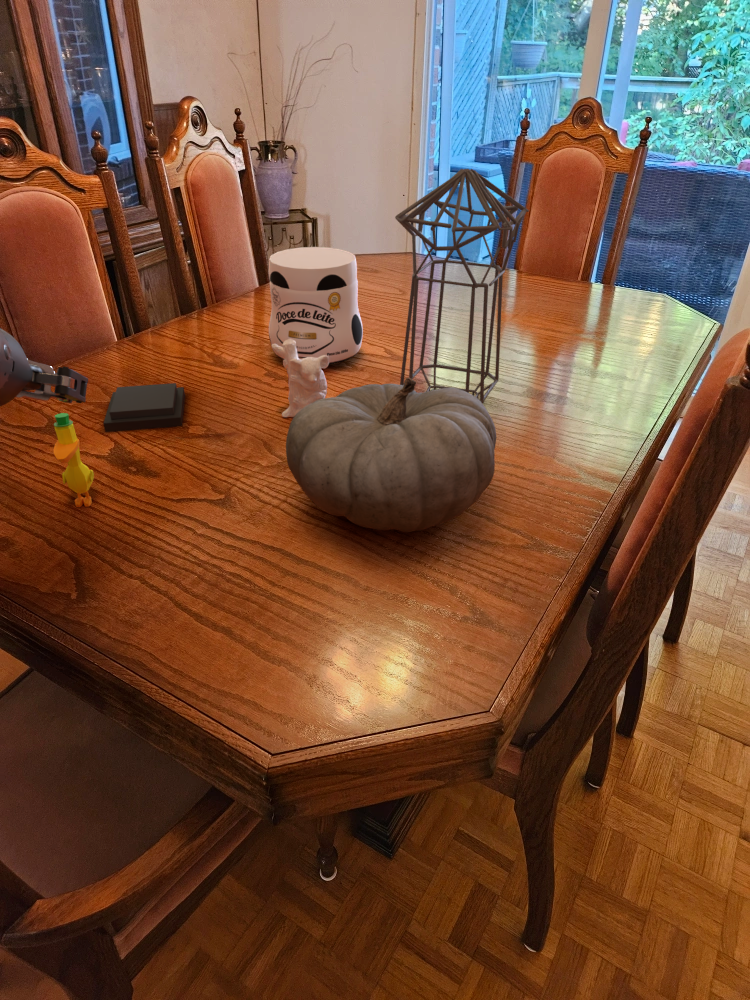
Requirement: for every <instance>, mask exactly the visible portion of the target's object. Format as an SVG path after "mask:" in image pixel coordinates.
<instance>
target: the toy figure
mask: <svg viewBox="0 0 750 1000" xmlns="http://www.w3.org/2000/svg"><path fill="white" fill-rule="evenodd" d="M54 419H55V421H56V422H54V423H53V426H54V431H55V434H56V435H55V436H56V438H57V441H56V442H55V444H54V446H53V455H54V457H55V459H56V460H57V461H58V462H59V463H61V464H67V466H66V468H65V470H64V471H63V472H62V473H61V476H62V477H61V478H62V484H63V485H67V486H68V488H69V489H70V490H71V491H73V492H75V494H76V496H77V498H75V499H74V505H75V508H81V507H82V506H83V505H84V508H86V507H87V508H88V507H90V506H92V503H93V502H92V501H93V500H92V496H91V495H90V493H89V490H90V488H91V486H92V484H93V481H94V479H95V473H94V469H90V468H89V467H88V465H86V464H84V463H83V461H82V460H81V453H80V451H81V450H80V445H81V443H80V442H81V441H80V439H79V438H78V437H77V433H76V429H75V426H74V424H73V423H74V421H73V420H72V419H70V414H69V413H68V412H61V413H57V414H55V415H54ZM81 494H84V495H85V497H83V496H82V495H81Z"/></svg>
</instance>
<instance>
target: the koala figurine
mask: <svg viewBox="0 0 750 1000" xmlns="http://www.w3.org/2000/svg"><path fill="white" fill-rule="evenodd" d="M282 345H283V347H281V346H278V345H277V344H272V346H271V349H272V348H273V349H274V350H275V351H276V352H277V353H279V354H280V355H282V356H284V360H283V359H282V364H283V365H282V366H283V367H284V368H285V369H286V372H287V376H288V390H289V391H288V398H287V399H288V403H289V406H288V407H287V408H286V409H285V410H284V411H282V413H281V417H282V418H294V417H295V415H296V414H297V413H298V412H299V411H300V410H301V409H303V408H304V407H305V406H307V405H309V404H311V403H313V402H315V401H316V400H319V399H324V398H327V397H326V396H327V394H328V382H327V378H326V376H325V373H324V371H323V370H322V369H324V370H325V369H327V368H328V367H329V366H330V365H329V357H328V356H327V355H323V356H320V357H318V358H313V357H307V358H303V359H299V358H298V354H297V350H296V342H295V340H293V339H288V340H286V341H284V343H283V344H282ZM273 349H272V350H273Z"/></svg>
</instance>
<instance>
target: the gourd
mask: <svg viewBox="0 0 750 1000" xmlns="http://www.w3.org/2000/svg"><path fill="white" fill-rule="evenodd" d="M404 383H405V384H404V385H400V384H398V383H383V384H380V383H379V384H378V383H371V384H364V385H362V386H356V387H352V388H349V389H346V390H344V391H342V392H341V393H339V394H338V395H336V396H332V397H325V398H324V399H319V400H316V401H315V402H313V403H311V404H309V405H307V406H305V407H304V408H303V409H301V410H300V411H299V412H298V413H297V414H296V415H295V417H292V420H291V421H290V424H289V426H288V430H287V432H286V433H287V434H286V440H285V456H286V462H287V466H288V468H289V470H290V472H291V474H292V476H293V478H294V479H295V481H296V483H297V484H298V485H299V487H300V488H301V490H302V491H303V492H304V493H305V496H307V497H308V498H309V500H311V502H312V503H314V505H315V506H316V507H318V508H319V509H320V510H322V511H323V512H325V513H327V514H329V515H332V516H335V517H345V518H346V519H347V520H348V521H349V522H351V523H352V524H354V525H357V526H359V527H362V528H364V529H365V528H366V529H373V530H375V531H376V530H377V531H389V530H396V531H398V532H401V533H411V532H421V531H424V530H427V529H429V528H432V527H435V526H439V525H442V524H444V523H447V522H450V521H451V520H454V519H455V518H457V517H459V516H461V515H462V514H463V513H464V512H465V511H466V510H468V509H469V508H470V507H471V506H473V505H474V504H475V503H476V502H478V500H479V499H480V497H481V496H482V494H483V493H484V492H485V491H486V489H487V488H488V486H489V485H490V484H491V482H492V481H493V478H494V476H495V467H496V462H495V461H496V460H495V449H496V445H497V429H496V426H495V423H494V420H493V419H492V416H491V415H490V413H489V411H488V410H487V408H486V406H485V405H484V403H481V401H480V398H479V397H478V398H476V397H475V396H476V395H474V396H473V395H472V393H470V392H469V393H467V392H465V391H463V390H459V389H456V388H457V387H452V388H442V389H441V388H437V389H436V390H434V389H432V390H431V389H430V391H427V390H426V391H427V392H426V391H424V392H417V391H416V390H415V387H416V385H417V381H416V380H414V379H413V380H412V379H411V378H409V377H405V379H404Z"/></svg>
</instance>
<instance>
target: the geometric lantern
mask: <svg viewBox="0 0 750 1000" xmlns="http://www.w3.org/2000/svg"><path fill="white" fill-rule="evenodd" d="M458 186H459V187H458ZM464 186H465V187H464ZM471 187H472V189H473V191H474V193H475V195H476V197H477V199H478V202H479V203H480V205H481V206H482V208H483V211H482V210H475V209H473V204H472V203H473V202H472V192H471ZM464 188H465V189H466V197H467V198H466V199H467V206H463V205H461V204H462V198H463V193H464ZM457 189H458V191H457V198H456V203H455V204H454V203H450V202H451V200H452V198H453V197H454V194H455V192H456V190H457ZM449 191H450V192H449ZM491 191H492V192H493V193H495V194H496V195H498V196H499V197H501V198H502V199H504V200H505V201H507V202H508V203H510V204H512V205H507V206H505V205H503V204H502V203H501V202H500V200H499V199H498V198H497V197H496V196H495V195H494V194H493V193H492V192H491ZM448 192H449V193H448ZM447 193H448V194H447ZM446 194H447V197H446V199H445V200H444V201H440V200H441V199H442V198H443V197H444V196H445V195H446ZM433 204H434V205H435V206H436V207H438V209H440V210H439V211H438V214H437V215H436V217H435V219H434V221H433V220H425V217H426V212H427V211H428V209H430V208H431V207H432V206H433ZM447 208H449V209H454V213H453V212H451V211H450V210H449V209H447ZM518 210H520V212H519V213H518V214H517V216H516V217H515V216H514V215H513V214H514V213H516V212H518ZM460 211H464V212H468V213H469V215H470V217H469V220H468V225H467V224H466V223H465V222H463V221H462V220H461V219H460V218H459V215H460ZM529 211H530V210H529V209H528V208H527V207H525V206H524V205H522V204H521V203H520V202H518V201H517V200H516V199H514V198H513V197H512V196H510V195H509V194H508V193H506V192H504V191H503V190H502V189H500V187H498V186H496V184H494V183H492V182H491V181H489V179H487V178H486V177H484V176H483V175H481V174H480V173H479V172H477V170H476V169H472V168H471V169H469V168H460V169H459V170H458V171H457V172H456V173H455V174H454V175H452V176H451V177H450V178H449V179H448V180H446V181H445V182H443V183H441V184H440V185H439V186H437V187H436V188H435V189H432V190H431V191H430V192H428V193H427V194H425V195H424V196H423V197H421V198H420V199H418V200H417V201H415V202H414V203H412V204H411V205H409V206H408V207H406V208H405V209H404V210H402V211H400V212H399V213H398V214H396V215H395V217H394V219H395V220H396V221H397V222H398V223H399V224H400V225H401V226H402V228H404V229H405V231H407V232H408V233H409V234H410V235H411V244H412V245H411V247H412V249H411V250H412V275H411V286H410V293H409V302H408V311H407V321H406V329H405V336H404V337H405V338H404V346H403V354H402V363H401V371H400V373H401V374H400V381H399V385H404V384H405V374H406V366H407V357H408V349H409V341H410V354H409V371H408V378H411V379H412V380H414V378H415V377H416V376H417V375H418V374H419V373H420V371H421V373H422V375H423V377H424V379H425V381H426V384H427V386H428V387H427V389H426V391H425V392H427V391H431V389H433V390H437V389H442V388H453V387H452V386H451V387H450V386H443V385H436V384H437V368H438V369H444V370H449V371H457V372H464V373H466V375H465V388H460V387H455V388H456V389H459V390H463V391H465V392H467V393H469V394H470V393H471V395H473V396H475V397H476V398H478V399H479V400H480V401H481V403H482V404H484V402H485V400H486V399H487V397H488V396H489V395H490V394H491V392H492V390H493V389H494V388H495V386H496V385H497V383H498V382H499V377H500V353H501V352H500V351H501V329H502V306H503V305H502V304H503V303H502V302H503V280H504V274H505V271H506V269H507V266H508V263H509V259H510V257H511V253H512V250H513V247H514V244H515V243H516V241H517V237H518V234H519V233H518V232H519V228H520V225H521V223H522V221H523V219H524V217H525V216H526V213H529ZM444 213H445V214H446V215H447V216H448V217H450V218H451V219H452V220H453V221H452V224H451V223H448V222H447V223H446V222H440V220H441V218H442V217H443V215H444ZM494 213H495V214H496V216H497V217H498V219H497V218H496V216H495V214H494ZM417 216H418V218H416V217H417ZM474 216H483V217H484V216H486V217H487V218H488V220H487V224H486V225H475V226H472V222H473V218H474ZM507 218H508V219H509V220H510V221H509V220H508V219H507ZM500 223H502V227H501V226H500ZM414 224H418V226H417V227H415V226H414ZM458 225H460V226H458ZM513 225H514V227H513ZM424 226H430V231H431V232H432V240H433V241H431V240H430V239H428V237H426V236H425V235H424V234H423V228H424ZM437 227H438V228H443V229H444V228H445V229H451V233H452V242H453V243H452V245H446V246H445V245H443V246H441V245H440V246H437V237H436V228H437ZM497 230H498V231H502V241H501V246H499V247H498V248H497V250H496V251H495V253H494V255H492V252H491V249H490V246H489V244H488V241H487V239H486V236H487V235H489V234H491V233H493V232H495V231H497ZM456 232H457V233H459V232H461V233H460V235H459V236H458V237H457V235H456ZM467 232H473V233H477V234H475V235H473V236H471V237H469V238H467V239H465V240H464V241H462V239H463V238H464V236H465V234H466V233H467ZM416 237H419V238H420V239H421V241H422V243H423V246H424V248H425V249H426V252H427V254H426V255H425V257H424V258H423V260H422V262H421V263H420V265H419V267H417V244H416V242H417V241H416ZM481 238H482V239H483V242H484V245H485V248H486V250H487V253H488V255H489V258H490V260H491V261H490V263H489V264H488V263H479V262H469V261H466V259H465V257H464V255H463V253H462V251H461V248H462V247H465V246H467V245H469V244H471V243H473V242H475V241H477V240H479V239H481ZM461 241H462V242H461ZM428 246H429V247H430V249H429V247H428ZM501 248H502V249H504V250H505V249H507V250H506V251H507V252H506V253H505V254H506V255H505V258H504V261H503V264H502V268H501V266H500V265H496V263H495V261H496V258H497V256H498V255H499V253H500V250H501ZM433 250H434V252H448V253H447V254H446V256H445V258H444V259H434V257H433V256H432V254H431V253H432V252H433ZM455 251H456V253H457V255H458V257H459V259H460V261H459V260H451V259H450V257H451V256H452V255H453V253H454V252H455ZM428 258H430V261H429V262H428V263H426V262H427V260H428ZM425 263H426V264H425ZM424 264H425V265H424ZM439 264H441V265H442V266H441V267H442V269H441V277H440V278H441V279H436V278H434V273H435V265H439ZM447 264H456V265H463V267H464V269H465V272H466V273H467V275H468V277H469V279H470V281H471V283H467V282H458V281H450V280H446V271H447V270H446V269H447V268H446V267H447ZM469 266H475V267H483V268H484V267H485V268H487V270H486V272H485V274H484V276H483V278H482V280H481V282H477V281H476V279H475V277H474V275H473V273H472V270H471V269H470V267H469ZM428 267H430V270H429V277H421V276H418V274H420V273H421V272H422V271H424V270H425V269H426V268H428ZM491 268H494V270H495V271H494V278H493V280H491V281H490V282H489V283H488V282H487V283H486V282H485V280H486V278H487V276H488V275H489V272H490V270H491ZM420 281H423V282H428V289H427V297H426V306H425V316H424V326H423V333H422V342H421V350H420V358H419V366H418V368H417V369H416V370H415V371H414V361H415V346H416V345H415V344H416V330H417V329H416V327H417V315H418V299H419V298H418V297H419V284H420V283H419V282H420ZM433 283H439V284H440V287H439V299H438V309H437V313H438V314H437V320H436V321H437V322H436V332H435V343H434V345H435V346H434V355H433V363H432V364H424V360H425V359H424V358H425V351H426V343H427V335H428V325H429V318H430V310H431V300H432V291H433ZM445 284H446V285H453V286H461V287H468V288H469V287H470V288H471V291H470V293H471V294H470V307H469V308H470V309H469V325H468V339H467V340H468V341H467V356H466V357H467V358H466V359H467V360H466V368H465V367H464V368H463V367H457V366H450V365H443V364H438V355H439V344H440V334H441V323H442V314H443V304H444V303H443V302H444V291H445ZM491 286H493V290H492V291H493V292H492V301H491V311H490V324H489V332H488V333H489V335H488V343H487V326H488V325H487V324H488V303H489V302H488V299H489V287H491ZM478 288H483V307H482V332H481V354H480V355H481V356H480V357H481V359H480V370H478V369H472V368H471V367H472V351H473V336H474V335H473V334H474V320H475V318H474V317H475V302H476V289H478ZM496 305H497V321H496V348H495V372H494V375H493V374H492V373H491V372H490V363H491V355H492V347H493V337H494V336H493V335H494V326H495V325H494V324H495V317H496ZM410 331H411V337H410ZM486 344H487V345H486ZM486 346H487V347H486ZM486 348H487V350H486ZM486 351H487V353H486ZM432 368H433V381H432V382H433V385H431V383H430V381H429V379H428V377H427V375H426V372H425V369H432ZM471 374H476V375H480V381H479V383H478V384H477V386H476V387H475V388H474V389H470V382H471V381H470V380H471ZM487 377H489V378H490V379H492V380H493V382H491V383H490V384H489V385H487V386H486V387H485V380H486V378H487ZM478 390H479V391H478ZM477 391H478V392H477Z"/></svg>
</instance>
